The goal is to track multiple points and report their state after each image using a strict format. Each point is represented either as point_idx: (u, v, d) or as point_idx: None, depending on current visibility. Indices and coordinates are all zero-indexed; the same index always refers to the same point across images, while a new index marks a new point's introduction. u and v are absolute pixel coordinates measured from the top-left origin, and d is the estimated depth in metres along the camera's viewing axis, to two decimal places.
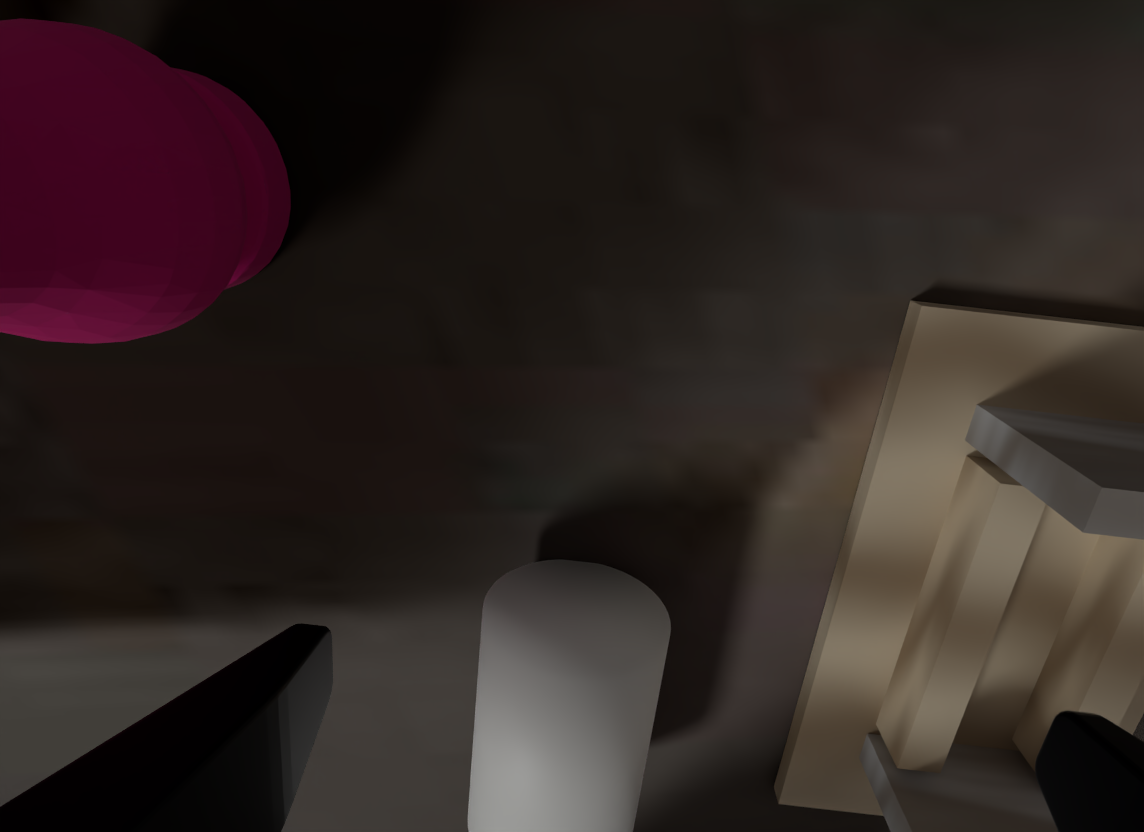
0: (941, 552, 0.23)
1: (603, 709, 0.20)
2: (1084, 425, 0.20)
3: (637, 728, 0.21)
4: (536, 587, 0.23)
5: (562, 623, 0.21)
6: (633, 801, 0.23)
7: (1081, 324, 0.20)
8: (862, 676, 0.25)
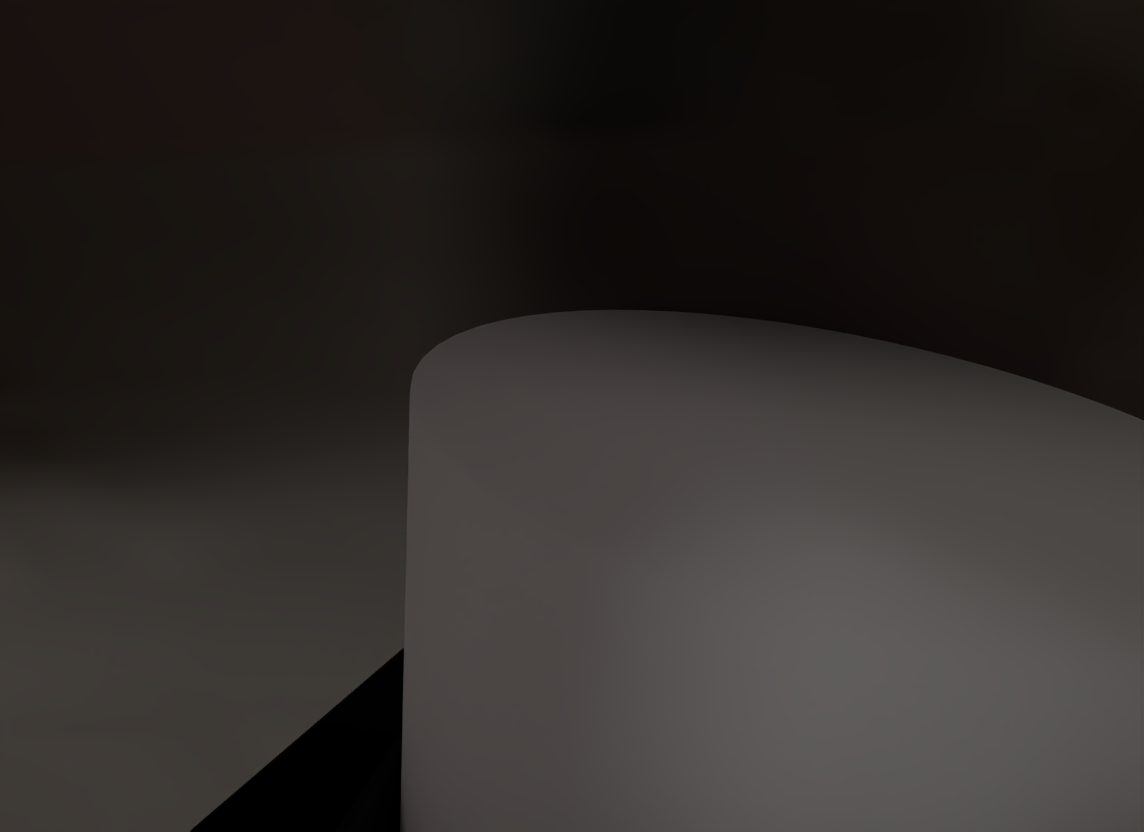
0: None
1: None
2: None
3: None
4: (625, 345, 0.06)
5: (773, 426, 0.05)
6: None
7: None
8: None
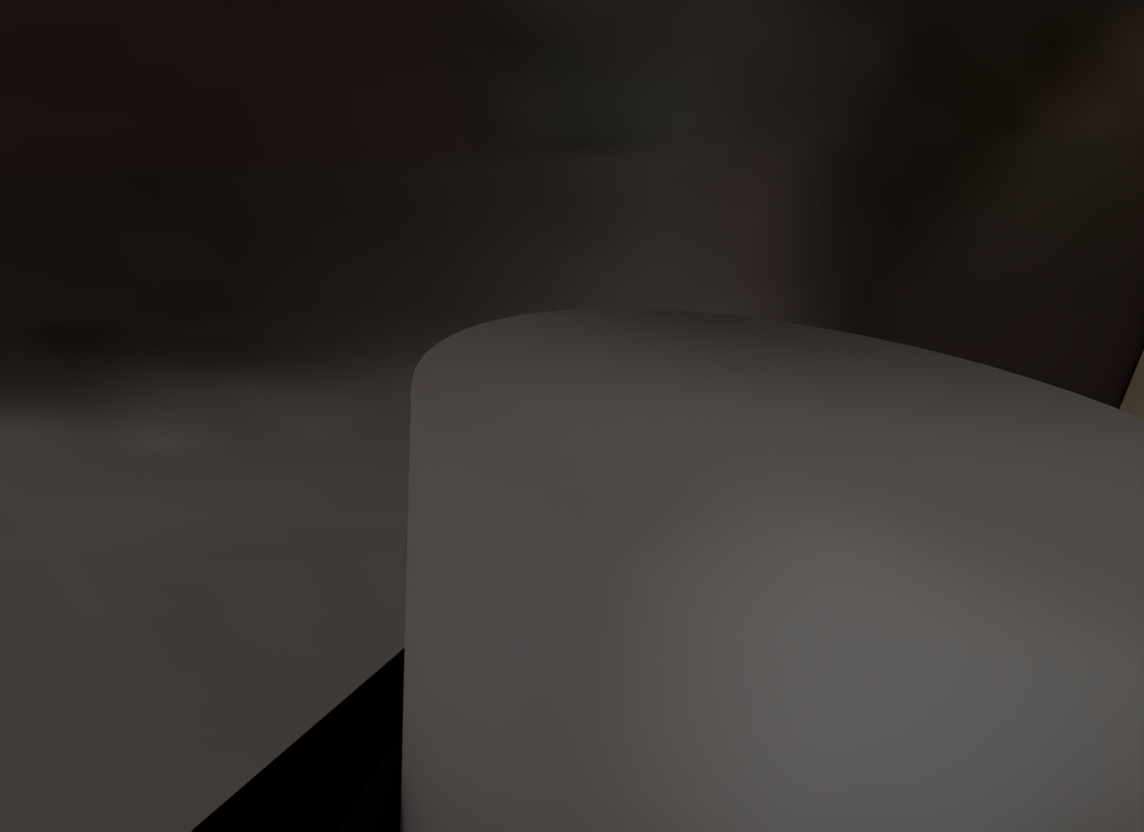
0: None
1: None
2: None
3: None
4: (625, 343, 0.06)
5: (772, 424, 0.05)
6: None
7: None
8: None
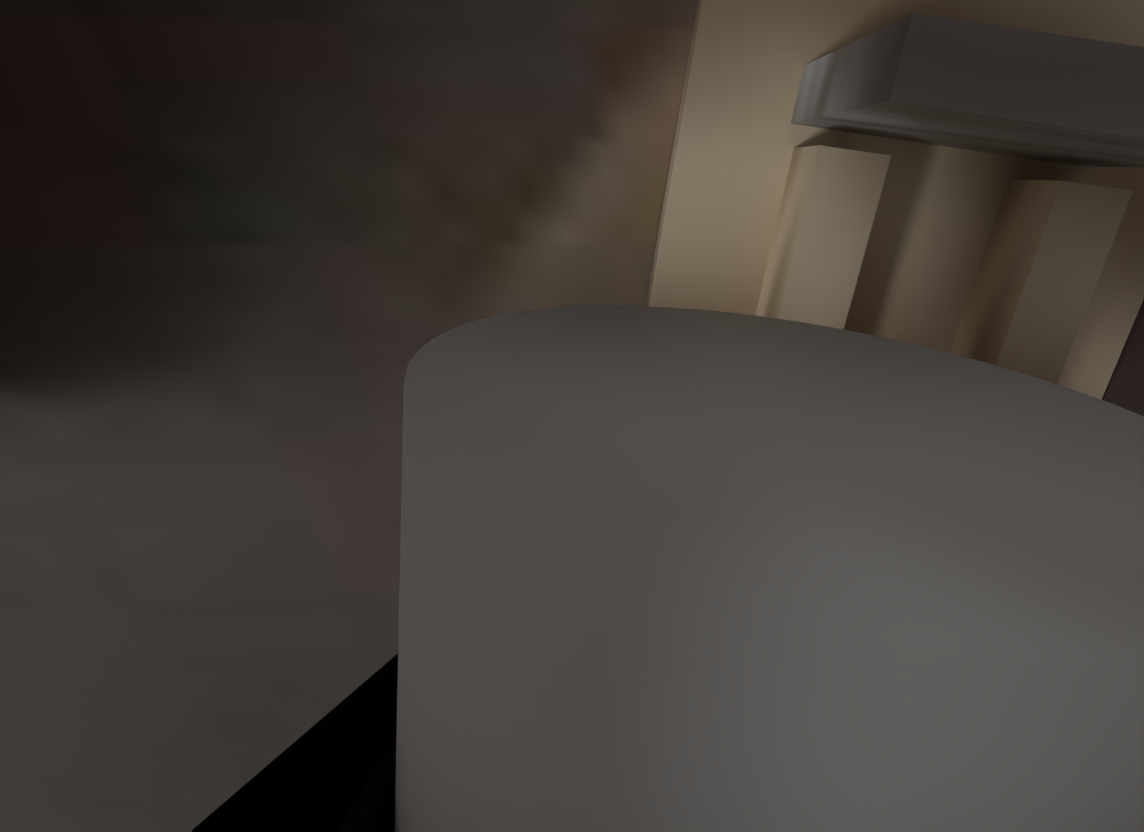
0: (765, 291, 0.17)
1: None
2: None
3: None
4: (622, 340, 0.06)
5: (769, 420, 0.05)
6: None
7: None
8: None
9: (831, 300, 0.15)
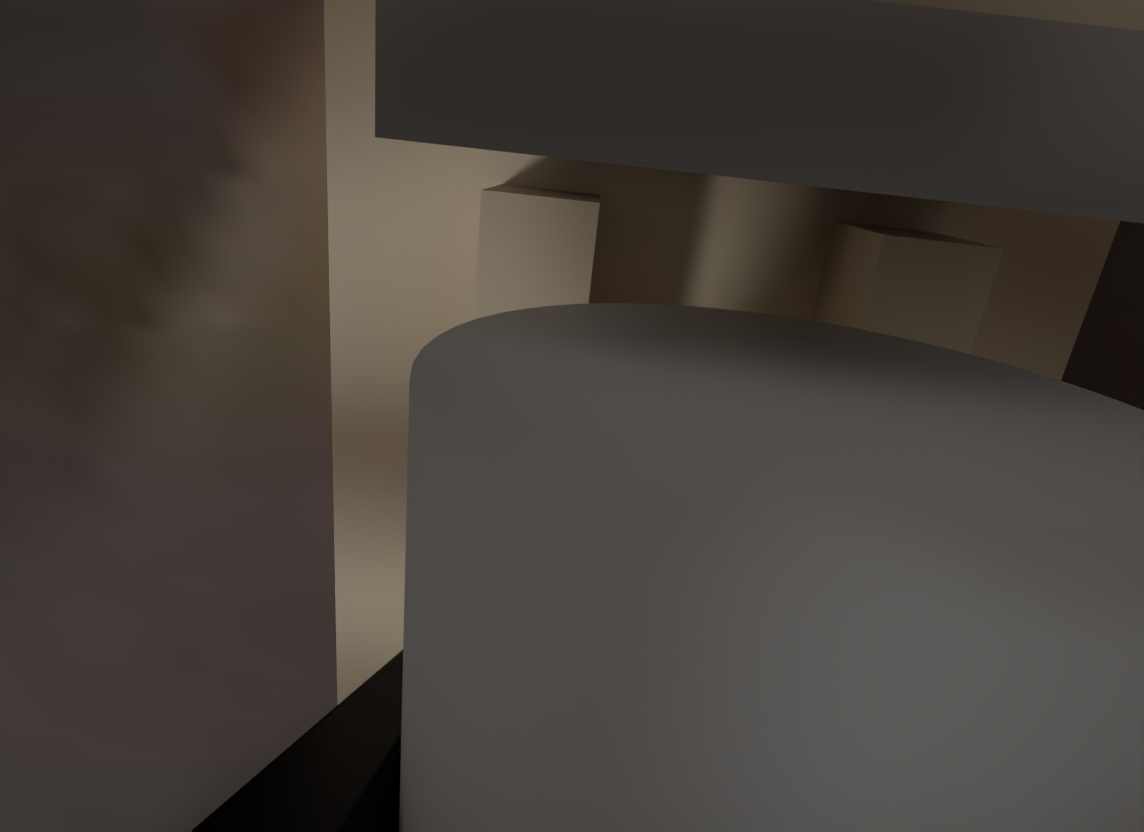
0: None
1: None
2: None
3: None
4: (627, 337, 0.06)
5: (776, 417, 0.05)
6: None
7: None
8: None
9: None
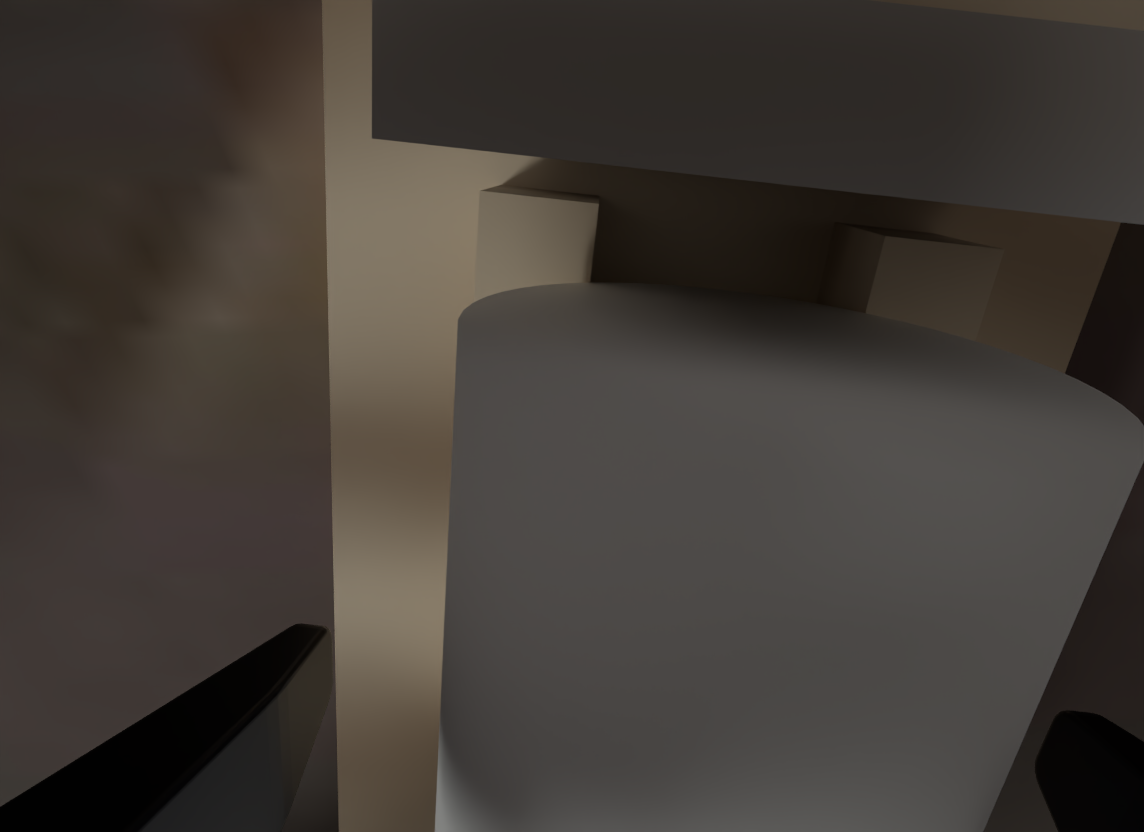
0: None
1: (972, 645, 0.04)
2: None
3: (1025, 730, 0.06)
4: (624, 306, 0.08)
5: (735, 358, 0.06)
6: None
7: None
8: (418, 652, 0.14)
9: None
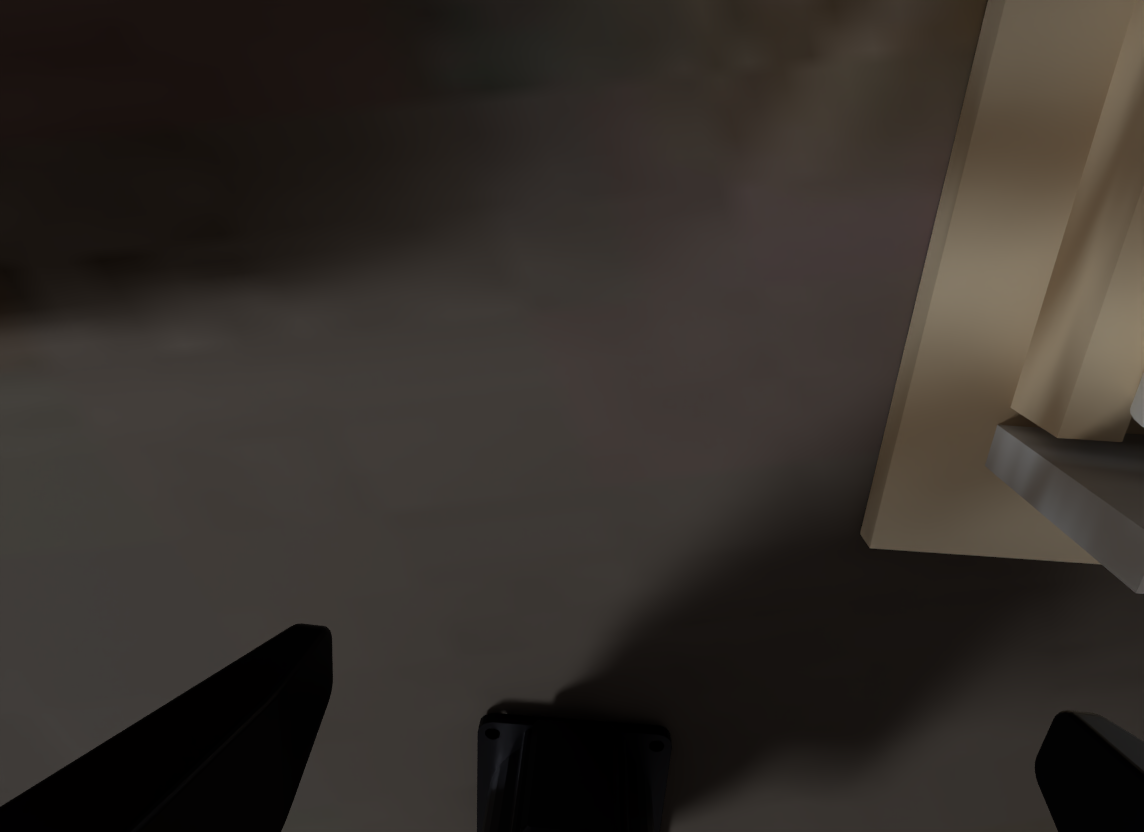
0: (1123, 80, 0.15)
1: None
2: None
3: None
4: None
5: None
6: None
7: None
8: (992, 327, 0.17)
9: None
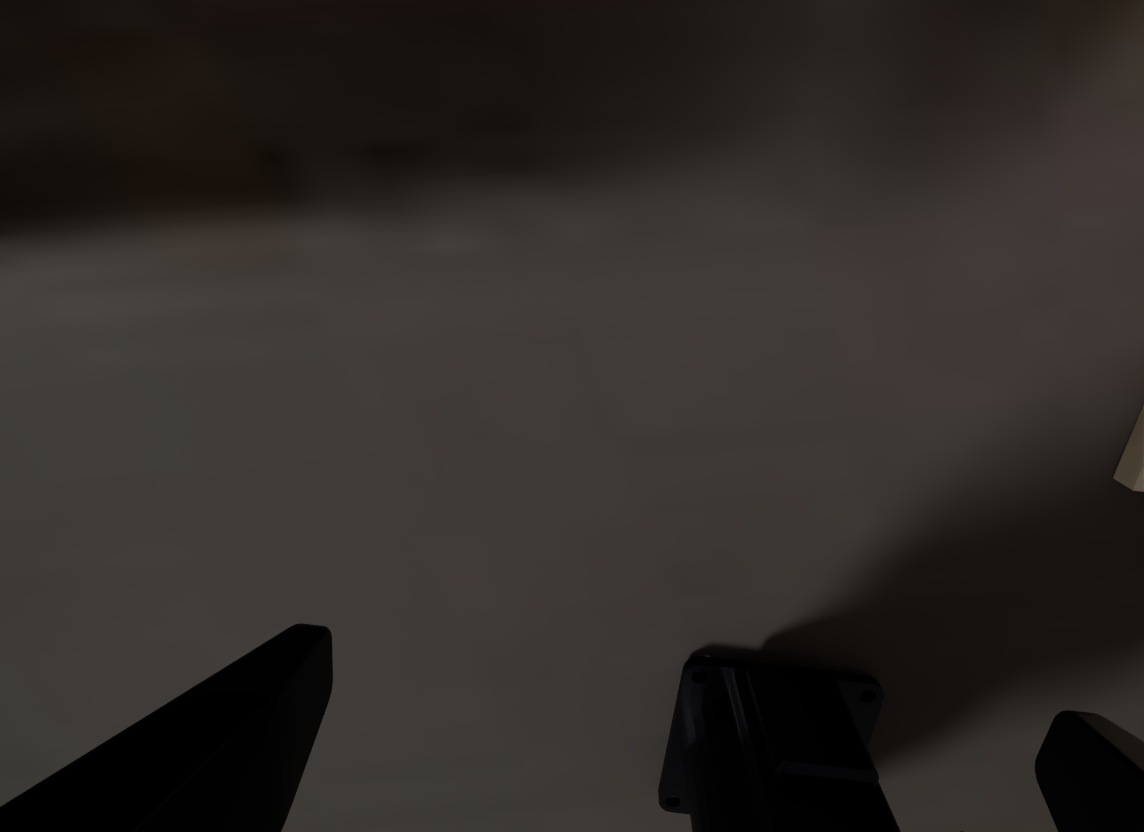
0: None
1: None
2: None
3: None
4: None
5: None
6: None
7: None
8: None
9: None
